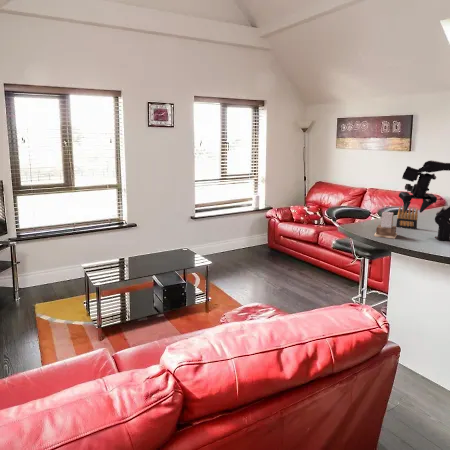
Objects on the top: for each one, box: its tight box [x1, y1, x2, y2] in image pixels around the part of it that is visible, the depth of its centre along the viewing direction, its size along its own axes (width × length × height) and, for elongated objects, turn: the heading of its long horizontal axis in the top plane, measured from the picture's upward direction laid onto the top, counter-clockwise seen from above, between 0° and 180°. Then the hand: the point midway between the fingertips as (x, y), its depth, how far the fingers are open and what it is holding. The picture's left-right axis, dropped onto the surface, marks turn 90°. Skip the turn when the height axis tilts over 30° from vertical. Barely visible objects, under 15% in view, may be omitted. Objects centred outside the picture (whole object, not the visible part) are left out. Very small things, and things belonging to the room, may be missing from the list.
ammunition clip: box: [396, 205, 419, 230], centre depth 241 cm, size 11×2×12 cm, turn 62°
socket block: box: [373, 224, 398, 239], centre depth 223 cm, size 10×10×4 cm
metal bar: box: [380, 211, 394, 229], centre depth 222 cm, size 5×5×11 cm
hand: (412, 211), depth 224 cm, fingers open, 9 cm apart
